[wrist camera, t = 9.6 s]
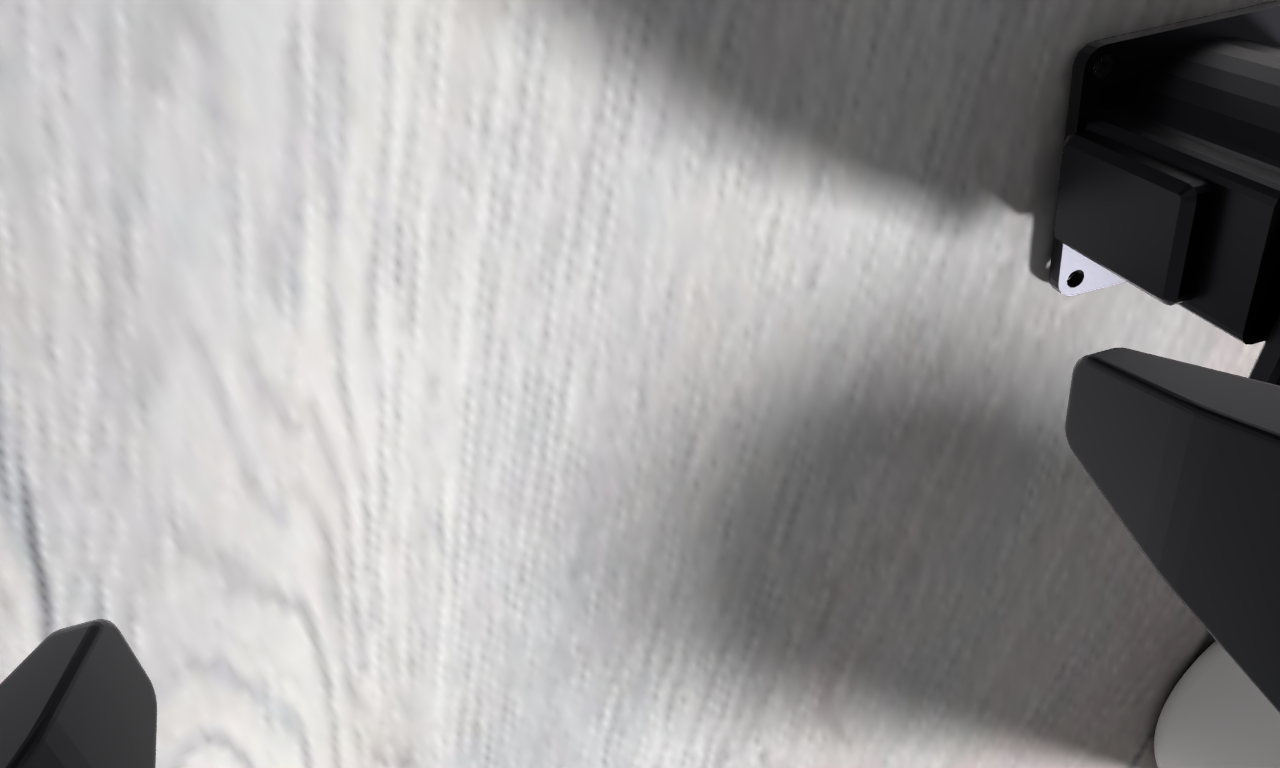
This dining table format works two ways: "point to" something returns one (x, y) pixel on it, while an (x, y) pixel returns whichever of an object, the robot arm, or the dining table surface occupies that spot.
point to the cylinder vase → (1217, 719)
